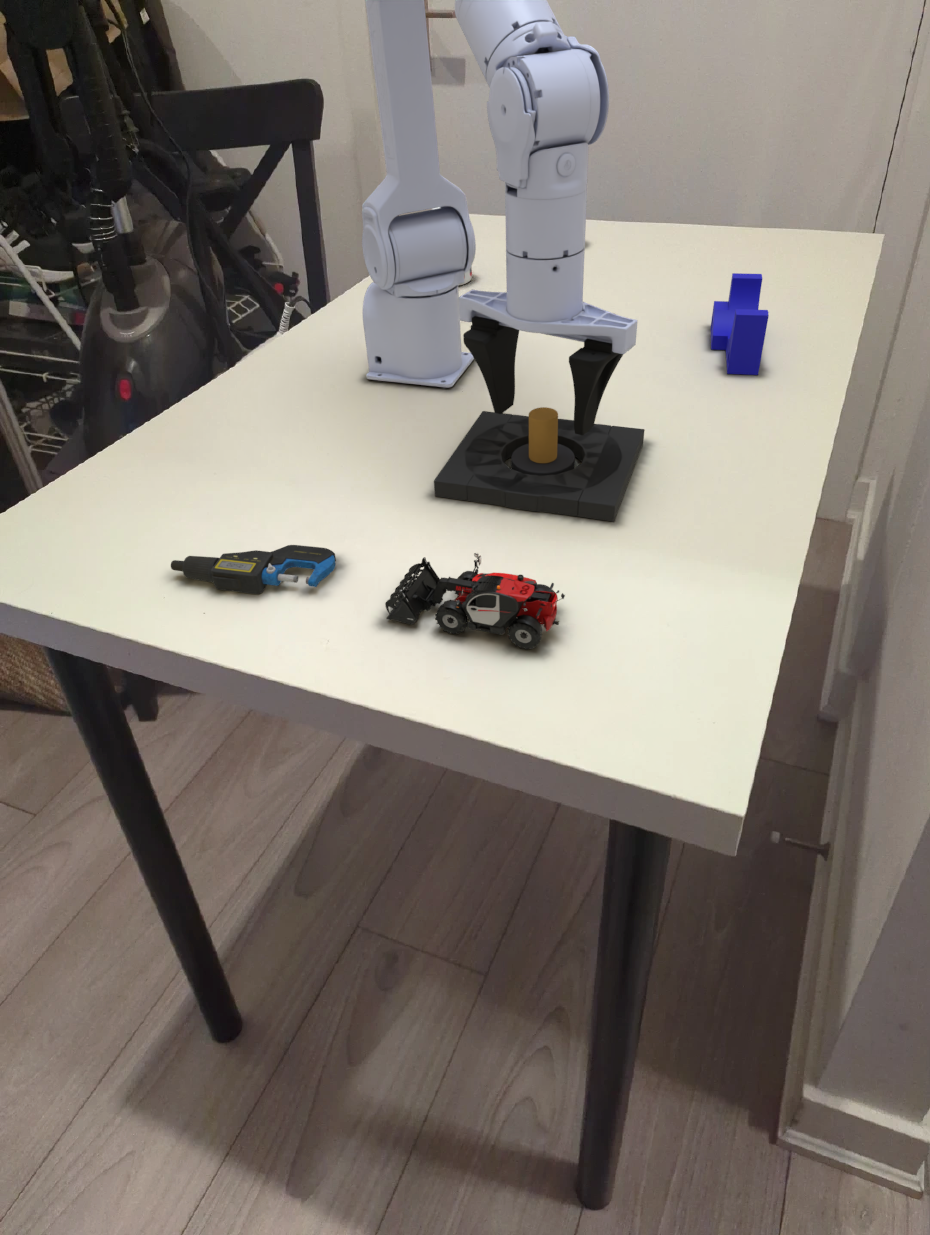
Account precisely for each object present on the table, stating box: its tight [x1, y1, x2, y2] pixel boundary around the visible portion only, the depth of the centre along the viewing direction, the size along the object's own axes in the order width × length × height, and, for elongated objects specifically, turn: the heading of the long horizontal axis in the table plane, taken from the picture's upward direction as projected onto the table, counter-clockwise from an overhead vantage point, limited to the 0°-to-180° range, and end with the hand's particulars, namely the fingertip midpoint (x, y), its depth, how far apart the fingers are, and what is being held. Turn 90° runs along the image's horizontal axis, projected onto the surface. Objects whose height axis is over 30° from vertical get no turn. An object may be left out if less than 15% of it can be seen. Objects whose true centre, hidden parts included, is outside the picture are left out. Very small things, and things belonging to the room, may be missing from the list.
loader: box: [385, 552, 566, 650], centre depth 58 cm, size 12×5×5 cm, turn 69°
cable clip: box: [710, 272, 770, 376], centre depth 90 cm, size 12×4×6 cm, turn 168°
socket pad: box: [433, 410, 645, 522], centre depth 74 cm, size 15×13×2 cm
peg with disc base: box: [510, 406, 576, 476], centre depth 73 cm, size 5×5×5 cm
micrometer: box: [170, 544, 337, 595], centre depth 64 cm, size 12×2×5 cm
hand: (543, 419), depth 72 cm, fingers open, 7 cm apart
